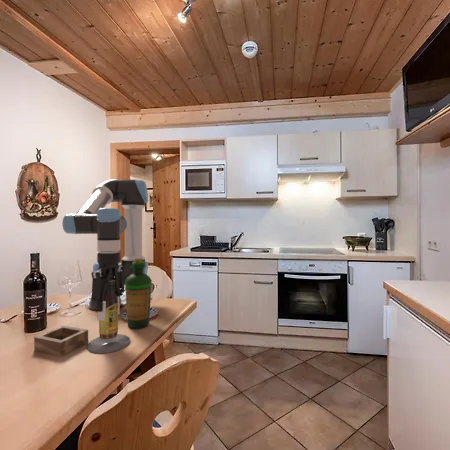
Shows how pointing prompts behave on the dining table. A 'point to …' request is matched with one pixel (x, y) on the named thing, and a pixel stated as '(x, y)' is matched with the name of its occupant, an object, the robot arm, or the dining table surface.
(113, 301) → the sauce bottle
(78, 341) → the open wooden box
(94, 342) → the slate trivet
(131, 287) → the bottle
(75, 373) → the dining table surface
